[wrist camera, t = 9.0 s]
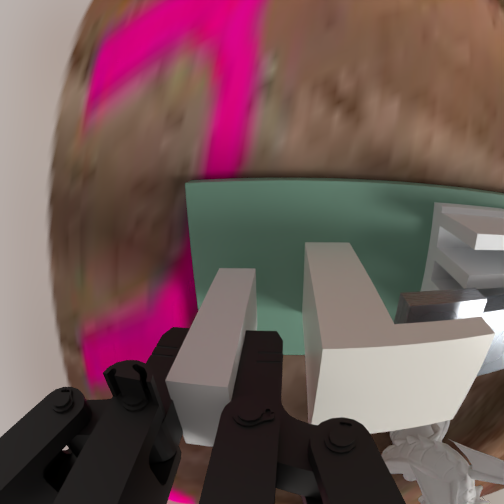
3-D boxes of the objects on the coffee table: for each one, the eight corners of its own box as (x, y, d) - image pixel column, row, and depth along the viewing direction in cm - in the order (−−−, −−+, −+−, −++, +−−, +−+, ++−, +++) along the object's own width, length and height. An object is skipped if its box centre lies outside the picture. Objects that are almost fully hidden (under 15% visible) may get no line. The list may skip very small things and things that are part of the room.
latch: (409, 243, 13) (495, 333, 6) (398, 310, 14) (452, 419, 7) (304, 242, 13) (322, 349, 6) (301, 312, 14) (308, 437, 8)
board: (551, 201, 11) (622, 235, 5) (520, 324, 15) (568, 380, 8) (191, 180, 14) (118, 216, 7) (208, 340, 17) (174, 433, 11)
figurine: (414, 451, 20) (437, 557, 9) (351, 441, 20) (363, 573, 8) (498, 369, 16) (559, 480, 5) (445, 346, 16) (520, 500, 4)
